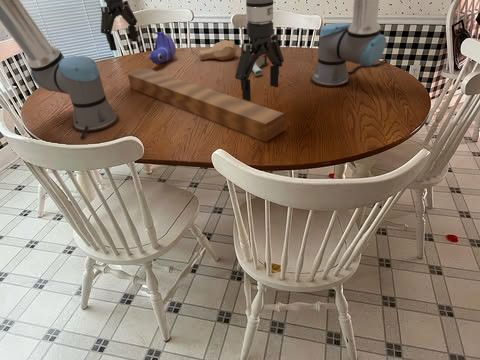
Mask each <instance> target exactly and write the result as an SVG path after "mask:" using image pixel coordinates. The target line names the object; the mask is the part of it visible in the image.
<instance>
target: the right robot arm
mask: <svg viewBox="0 0 480 360" xmlns="http://www.w3.org/2000/svg"><path fill="white" fill-rule="evenodd" d="M352 4H353V5H352V6H353V7H352V20H351V21H352V23H350V22H334V23H329V24H325V25H323V26H322V27H321V28H320V32H319V37H318V52H317V53H318V54H317V64H316V66H315V67H314V68H315V69H314V71H313V73H312V75H311V76H312V78H311V82H312V83H314V84H315V85H317V86H321V87H326V88H338V87H341V86H345V85H346V84H348V83H349V75H350V74H353V73H355V72H356V70H357V69H360V68H367V67H378V66H381V65H382V64H383V63H384V62H385V63H388V60H387V59H386V58H384V59H382V60H381V62H379V63H377V62H378V61H379V60H380V58H381V57H382V56H383V53H384V51H385V49H386V46H387V38H386V36H385V35H384V34H381V31H382V30H381V29H382V26H381V25H380V23H378V16H379V7H380V0H353V3H352ZM245 13H246V16H245V19H246V21H247V23H246V36H247V37H248V39H249V40H248V43H241V48H240V49H241V51H240V55H239V58H238V59H239V60H238V64H237V68H236V72H235V76H234V79H235V80H239V81H240V90H241V91H242V92H241V93H242V94H241V95H242V96H241V97H242V100H244V101H248V102H251V101H252V95H251V94H252V93H251V92H252V91H251V79H249V78H250V76H251V74H252V72H253V70H252V69H253V66H254V64H255V62H256V60H257V59H258V58H259V57H260V56H262V55H263V54H264V55H266V56H267V59H268V61H269V62H270V63H271V65H270V66H269V67H270V68H269V83H270V85H269V87H273V88H278V87H279V74H280V67H283V63H284V61H285V59H284V56H283V52H282V50H281V47H280V43H279V35H278V34H274V22H273V20H274V0H245ZM252 53H253V54H254V55H252ZM347 62H349V63H352V64H357V65H358V66H356V67H354V69H353V70H351V71H348V67H347Z"/></svg>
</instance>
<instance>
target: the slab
mask: <svg viewBox="0 0 480 360" xmlns="http://www.w3.org/2000/svg"><path fill="white" fill-rule="evenodd" d="M127 77H128V81H129V87H130V90H134V91H135V92H139V93H141V94H144V95H146V96H148V97H150V98H151V97H152V98H153V99H155V100H159V101H160V102H164V103H166V104H169V105H171V106H174V107H177V108H179V109H182V110H184V111H186V112H189V113H191V114H194V115H196V116H199V117H202V118H204V119H207V120H209V121H212V122H214V123H217V124H219V125H222V126H224V127H227V128H229V129H232V130H234V131H237V132H240V133H242V134H244V135H247V136H250V137H252V138H255V139H256V140H257V139H258V140H260V141H262V142H265V143H267V142H269V141H271V140H272V139H274V138H275V137H276V136H279V135H280V134H281V133H283V132H284V131H285V130H284V129H285V128H284V127H285V113H284V112H281V111H278V110H275V109H272V108H269V107H266V106H262V105H260V104H257V103H253V102H251V101H247V100H244V99H241V98H238V97H236V96H232V95H229V94H226V93H223V92H220V91H216V90H213V89H210V88H207V87H204V86H202V85H198V84H195V83H192V82H188V81H185V80H183V79H180V78H176V77H174V76H170V75H167V74H164V73H161V72H158V71H155V70H152V69H149V68H146V67H144V68H142V69H139V70H136V71H132V72H130V73H128V74H127Z"/></svg>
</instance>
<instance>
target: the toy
mask: <svg viewBox="0 0 480 360" xmlns="http://www.w3.org/2000/svg"><path fill="white" fill-rule="evenodd" d="M153 34H154V35H157V36H156V38H155V42H154V50H152V51H150V53H149V56H148V58H149V60H150V61H151V62H152V63H153V64H155V65H156V68H157V69H159V67H160V64H163V63H166V62H169V61H170V60H172V59H173V58H174V57H175V55H176V51H177V49H176V44H175V42H174V40H173V38H172V37H171V36H170V35H168V36H167V35H166V34H165V33H164V32H163V31H160V32H159V31H155V32H154V33H153Z"/></svg>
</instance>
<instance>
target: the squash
mask: <svg viewBox="0 0 480 360" xmlns="http://www.w3.org/2000/svg"><path fill="white" fill-rule="evenodd" d="M237 50H238V48H237V45H236V43H235V41H233V40H227V39H224V40H221V41H219V42H216V43H214V44H213V46H212V47H210V48H209V49H204V50H203V49H202V50H199V51H198V52H199V59H200V60H201V61H204V60H209V59H216V60H218V61H229V60H231V59H233V57H235V56H236V55H237Z"/></svg>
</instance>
